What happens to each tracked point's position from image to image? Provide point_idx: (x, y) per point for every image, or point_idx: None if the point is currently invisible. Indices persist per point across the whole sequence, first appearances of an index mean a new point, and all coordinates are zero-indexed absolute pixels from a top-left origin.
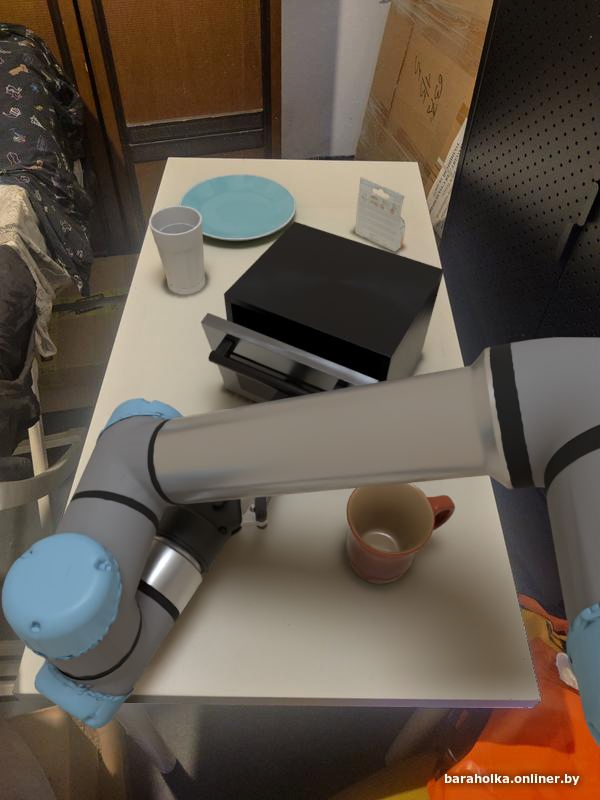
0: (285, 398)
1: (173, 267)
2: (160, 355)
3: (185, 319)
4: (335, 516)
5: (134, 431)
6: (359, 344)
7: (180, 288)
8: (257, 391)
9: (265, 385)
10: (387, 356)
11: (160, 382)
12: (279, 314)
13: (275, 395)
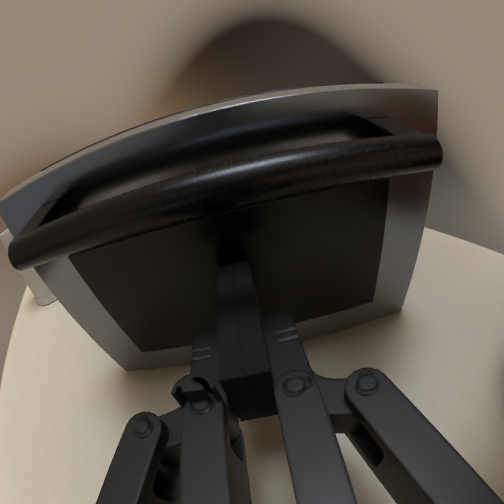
0: (248, 276)
1: (29, 272)
2: (36, 368)
3: (55, 320)
4: (476, 413)
5: None
6: (324, 84)
7: (46, 296)
8: (171, 335)
9: (179, 302)
10: (377, 82)
11: (41, 402)
12: (142, 124)
13: (219, 286)
